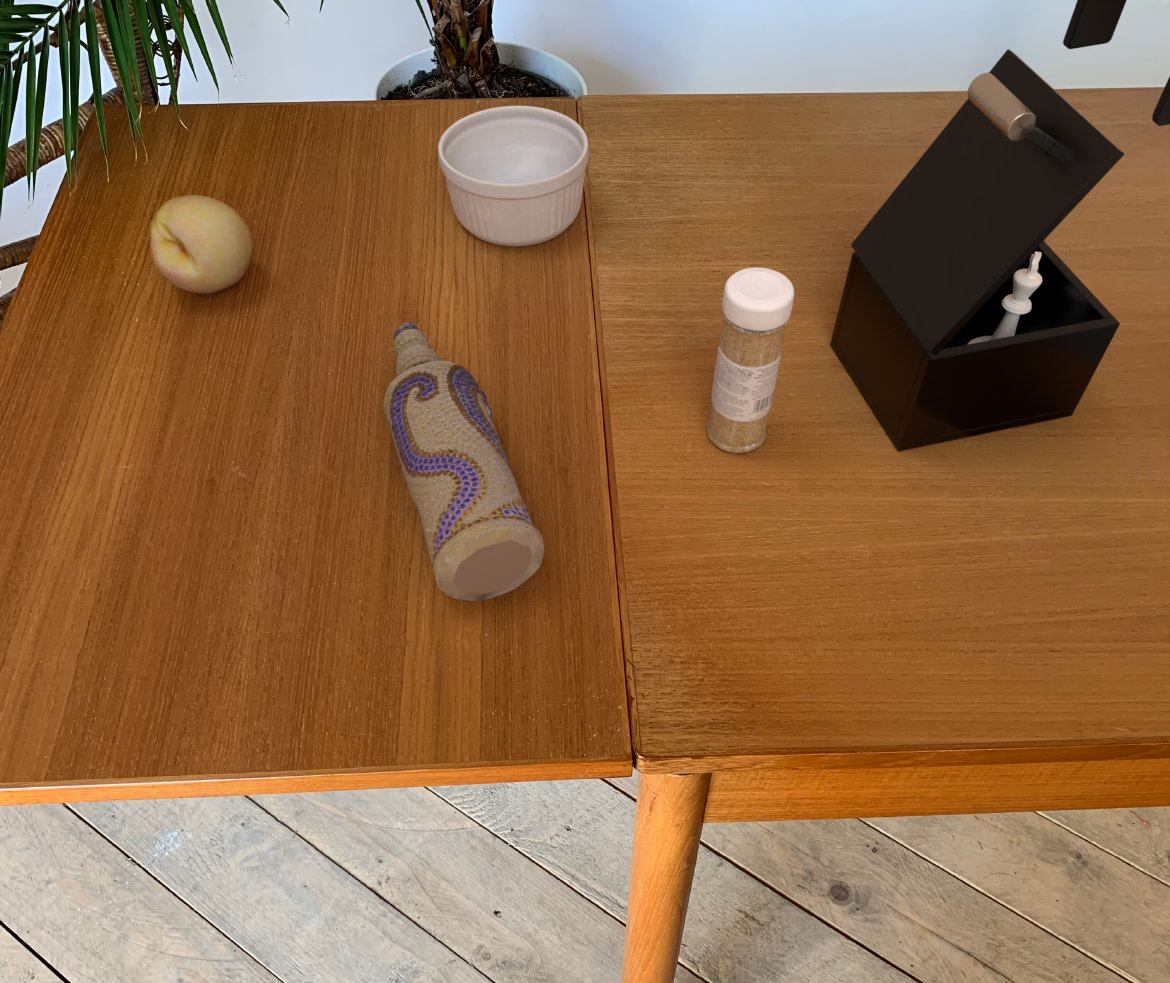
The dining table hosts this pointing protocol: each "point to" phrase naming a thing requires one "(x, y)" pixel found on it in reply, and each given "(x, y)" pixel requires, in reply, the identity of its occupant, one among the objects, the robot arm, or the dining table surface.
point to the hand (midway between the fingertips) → (1128, 80)
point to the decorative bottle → (458, 475)
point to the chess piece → (1017, 300)
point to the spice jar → (748, 357)
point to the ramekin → (515, 173)
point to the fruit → (200, 244)
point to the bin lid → (982, 199)
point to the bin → (973, 358)
